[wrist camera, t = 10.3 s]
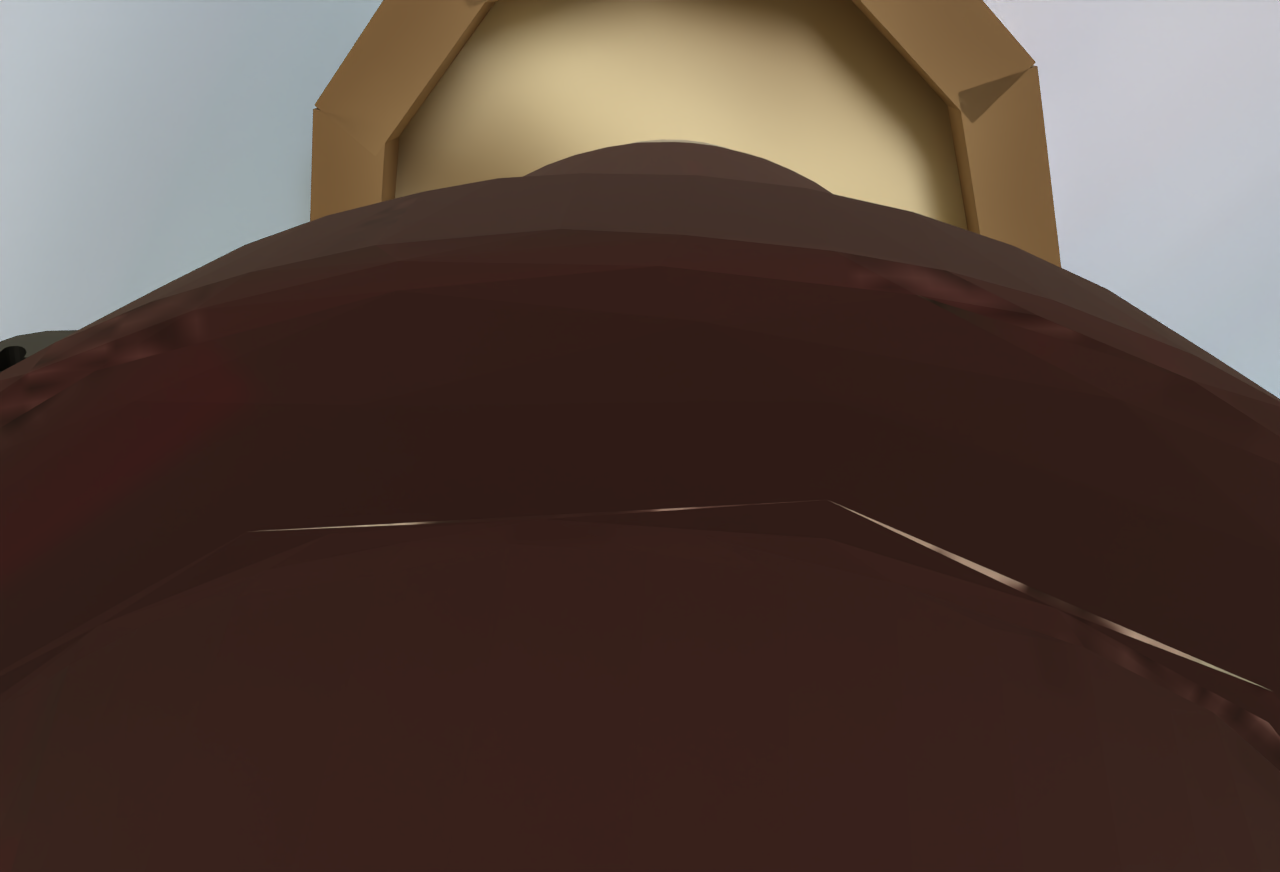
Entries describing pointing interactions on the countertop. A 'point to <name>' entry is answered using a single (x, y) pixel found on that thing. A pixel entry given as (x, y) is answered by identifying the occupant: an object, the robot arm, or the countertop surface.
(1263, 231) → the countertop surface
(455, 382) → the coffee cup
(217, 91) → the countertop surface
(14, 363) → the robot arm
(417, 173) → the round tray
